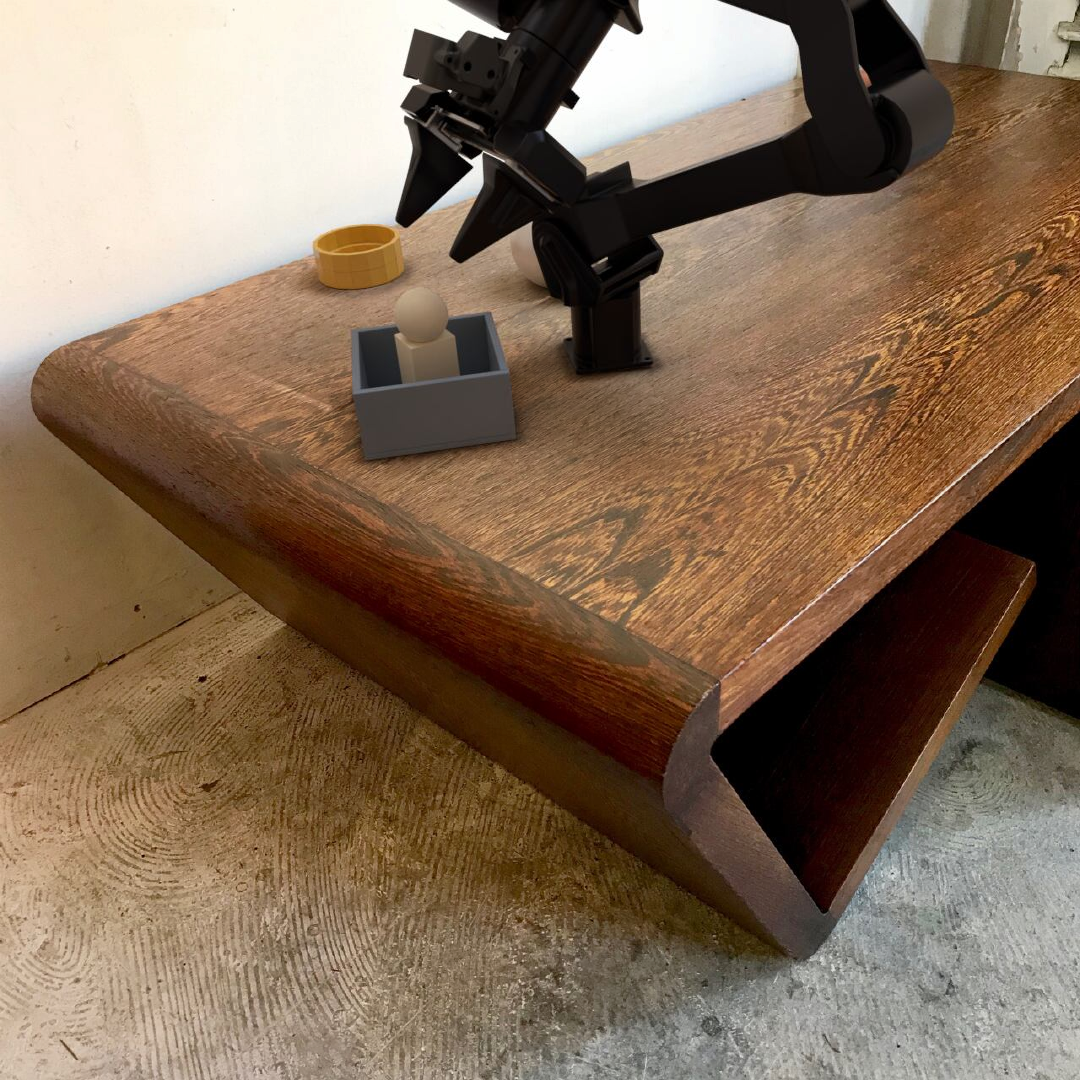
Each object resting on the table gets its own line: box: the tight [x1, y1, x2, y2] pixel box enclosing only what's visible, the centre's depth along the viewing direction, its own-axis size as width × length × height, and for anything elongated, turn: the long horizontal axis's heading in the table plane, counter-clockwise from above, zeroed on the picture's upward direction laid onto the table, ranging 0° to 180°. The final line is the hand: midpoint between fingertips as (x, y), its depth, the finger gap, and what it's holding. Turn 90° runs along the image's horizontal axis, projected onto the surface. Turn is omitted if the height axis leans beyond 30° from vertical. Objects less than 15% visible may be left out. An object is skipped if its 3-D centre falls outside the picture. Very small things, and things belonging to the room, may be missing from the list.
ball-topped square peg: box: [393, 286, 460, 384], centre depth 79 cm, size 4×4×10 cm
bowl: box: [312, 223, 406, 290], centre depth 106 cm, size 9×9×4 cm
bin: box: [350, 311, 517, 461], centre depth 81 cm, size 11×11×6 cm
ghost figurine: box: [509, 221, 599, 289], centre depth 98 cm, size 9×10×10 cm
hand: (426, 241), depth 77 cm, fingers open, 9 cm apart
